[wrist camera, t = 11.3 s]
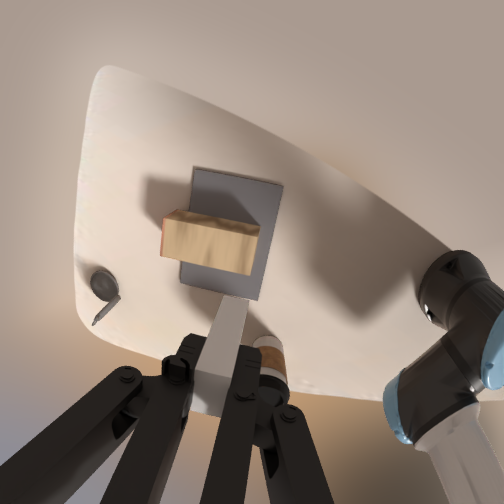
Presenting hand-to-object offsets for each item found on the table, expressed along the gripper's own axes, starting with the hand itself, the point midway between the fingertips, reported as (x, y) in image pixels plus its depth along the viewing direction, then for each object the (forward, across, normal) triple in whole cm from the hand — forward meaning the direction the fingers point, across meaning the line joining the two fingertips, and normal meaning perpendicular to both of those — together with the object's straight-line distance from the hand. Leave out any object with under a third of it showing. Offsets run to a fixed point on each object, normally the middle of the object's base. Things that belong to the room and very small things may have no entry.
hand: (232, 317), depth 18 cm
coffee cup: (+33, -6, +26) cm, 42 cm away
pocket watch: (+33, +27, +22) cm, 48 cm away
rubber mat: (+32, +5, +6) cm, 33 cm away
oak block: (+29, +14, +6) cm, 33 cm away
